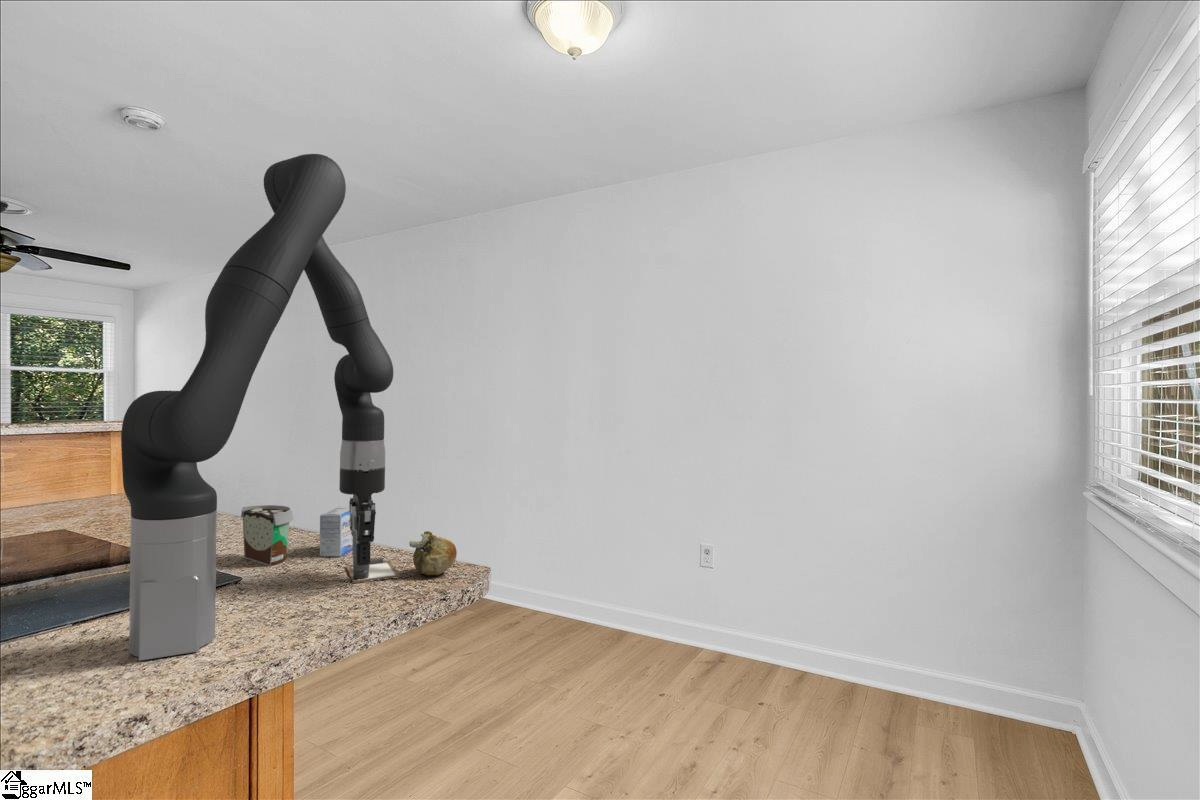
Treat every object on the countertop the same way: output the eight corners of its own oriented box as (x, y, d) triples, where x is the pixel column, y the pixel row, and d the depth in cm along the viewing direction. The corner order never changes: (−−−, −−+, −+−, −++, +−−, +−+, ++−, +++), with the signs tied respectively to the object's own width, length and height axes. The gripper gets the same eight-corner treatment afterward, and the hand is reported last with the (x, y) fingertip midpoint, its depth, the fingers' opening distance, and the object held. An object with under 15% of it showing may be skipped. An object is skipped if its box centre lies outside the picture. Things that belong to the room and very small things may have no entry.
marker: (371, 578, 107) (372, 513, 107) (353, 580, 105) (354, 515, 105) (368, 573, 109) (369, 510, 109) (350, 575, 108) (352, 511, 108)
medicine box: (340, 557, 121) (341, 514, 121) (318, 557, 121) (319, 514, 121) (357, 547, 129) (358, 507, 129) (336, 546, 129) (337, 506, 129)
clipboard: (400, 577, 109) (400, 571, 109) (353, 583, 105) (353, 577, 105) (389, 562, 118) (389, 556, 118) (345, 567, 114) (345, 561, 114)
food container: (305, 560, 118) (306, 509, 118) (275, 567, 113) (275, 514, 113) (271, 550, 125) (271, 502, 125) (240, 557, 120) (241, 506, 120)
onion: (447, 581, 107) (448, 536, 107) (404, 578, 108) (405, 534, 108) (461, 568, 115) (462, 527, 115) (421, 566, 116) (422, 525, 116)
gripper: (335, 461, 111) (334, 553, 112) (344, 471, 99) (343, 574, 99) (378, 460, 115) (376, 549, 115) (392, 469, 103) (390, 568, 103)
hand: (361, 560), depth 107 cm, fingers open, 4 cm apart
